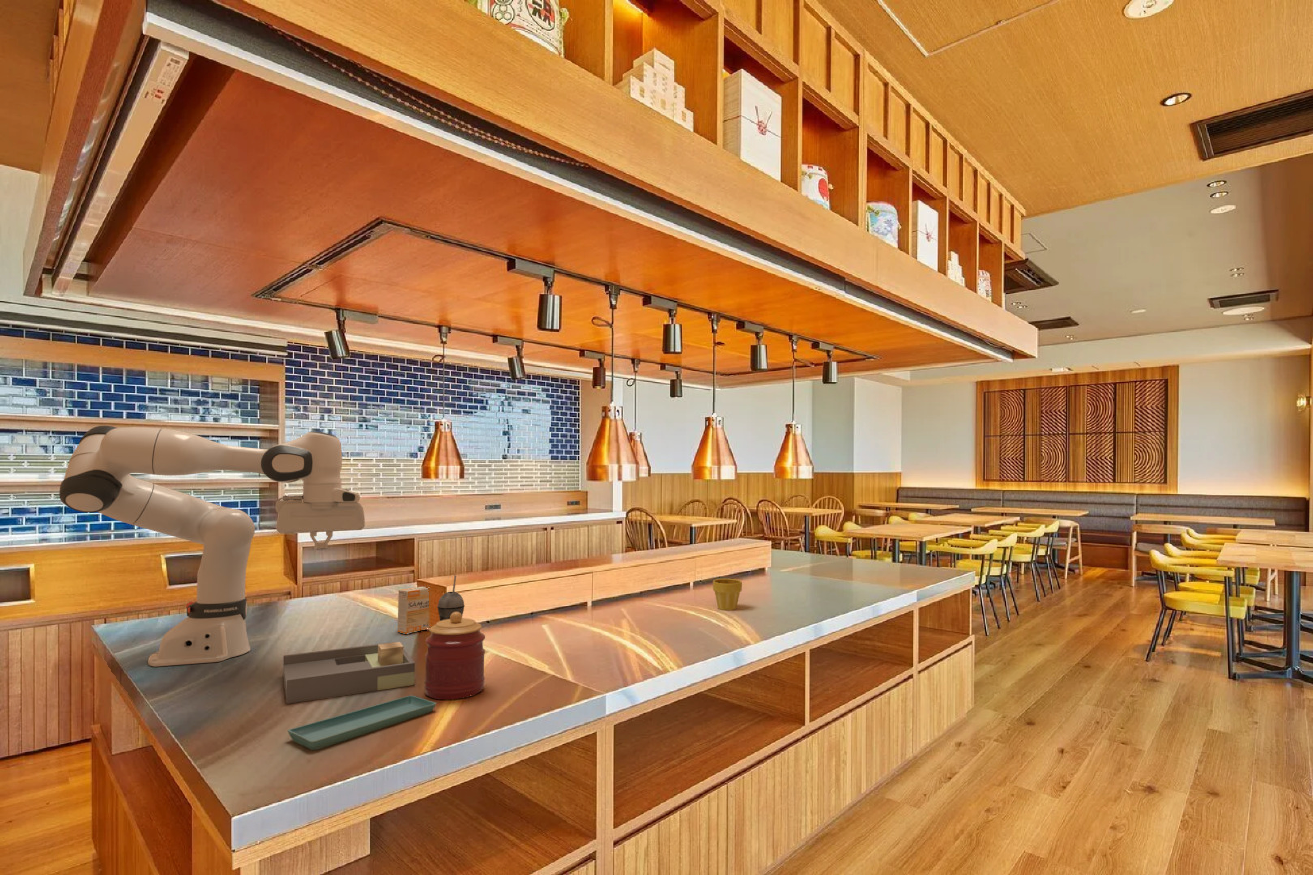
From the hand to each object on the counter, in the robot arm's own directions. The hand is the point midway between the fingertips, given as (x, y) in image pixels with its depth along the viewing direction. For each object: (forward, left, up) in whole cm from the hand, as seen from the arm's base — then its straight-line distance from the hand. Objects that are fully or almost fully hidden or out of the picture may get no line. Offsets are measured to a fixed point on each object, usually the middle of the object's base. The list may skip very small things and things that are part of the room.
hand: (321, 549), depth 175 cm
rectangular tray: (+5, -49, -30) cm, 58 cm away
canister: (+25, -37, -29) cm, 53 cm away
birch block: (+14, -17, -26) cm, 34 cm away
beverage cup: (+33, 0, -29) cm, 44 cm away
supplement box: (+28, +25, -29) cm, 48 cm away
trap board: (+5, -17, -29) cm, 34 cm away
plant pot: (+132, +6, -29) cm, 135 cm away
